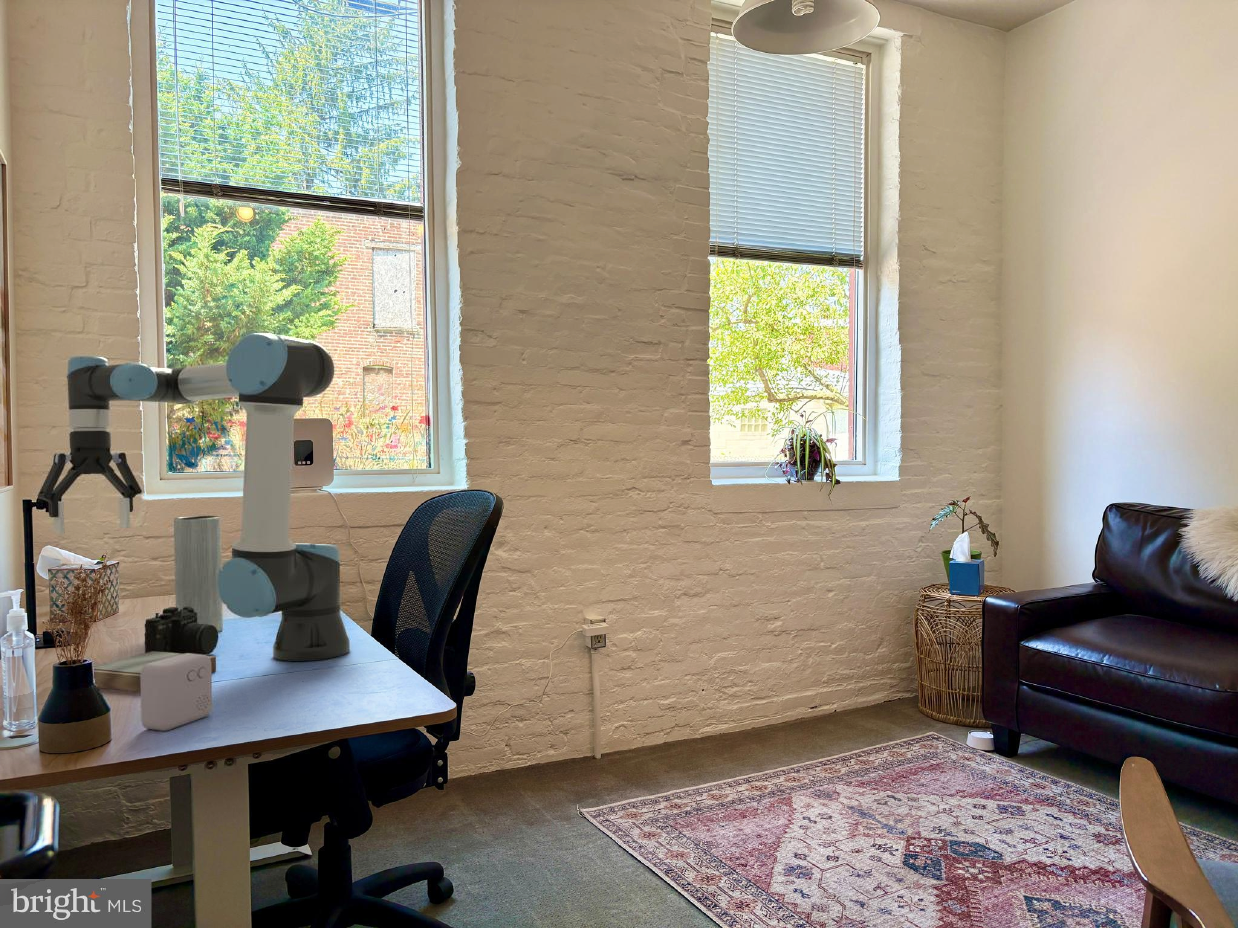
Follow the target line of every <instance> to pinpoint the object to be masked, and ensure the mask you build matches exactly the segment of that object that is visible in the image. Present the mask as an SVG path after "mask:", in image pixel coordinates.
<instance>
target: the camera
mask: <svg viewBox="0 0 1238 928" xmlns="http://www.w3.org/2000/svg"><path fill="white" fill-rule="evenodd" d="M143 634H144V653H148V652H151V651H156V652H168V653H180V654H186V653H191V654H201V655H210V654H212V653H213V652H214V651H215V649H216V648H217V645H218V641H219V632H218V631H217V629H216V627H215V626H213V625H209V624H198V623H197V612H194V608H191V606H185V607H183V609H180V611H178V607H176V606H169V607H167V608H163V610H162V614H160V613H159V612H156V613H155V617H151V618H147V619H145V623H144V633H143Z"/></svg>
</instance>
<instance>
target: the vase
mask: <svg viewBox="0 0 1238 928" xmlns="http://www.w3.org/2000/svg"><path fill="white" fill-rule="evenodd" d="M173 541H174V543H173V547H174V549H173V550H174V587H175V588H174V589H175V590H174V591H175V594H174V595H175V596H174V598H175V607H178V611H180V609H183V607H185V606H191V608H194V612H197V623H198V624H209V625H213V626H215V627H216V629H217V631H218V633H220V632H221V631H222V630H223V629H224V615H223V614H224V612H223V605H224V603H223V602H222V600H221V598H220V596H219V593H218V589H217V576H218V572H219V570H220V568H221V567H223V563H222V562H223V561H222V559H223V558H222V557H223V555H222V518H221V516H219V515H192V516H191V515H190V516H189V515H188V516H178V517H175V518H174V519H173Z"/></svg>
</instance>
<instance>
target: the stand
mask: <svg viewBox="0 0 1238 928" xmlns="http://www.w3.org/2000/svg"><path fill="white" fill-rule="evenodd" d="M178 655H182V654H180V653H168V652H156V651H151V652H148V653H145V652H144V653H141V654H137V655H132V656H128V657H126V658H121V659H117V660H114V661H110V662H109V661H108V662H107V663H102V664H98V665H95V666H93V667H94V679H95V684H96V685H97V687H96V688H102V689H109V690H110V689H111V690H121V691H127V692H129V691H130V692H139V693H141V679H140V674H141V670H142V668H143V667H144V666H145V665H146V664H148V663H152V662H155V661H159V660H163V659H167V658H170V657H174V656H178ZM207 656H208V657H209V658H210V660H211V674H212V673H214V672H215V673H216V672H217V656H213V655H212V656H211V655H207Z"/></svg>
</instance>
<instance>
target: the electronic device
mask: <svg viewBox="0 0 1238 928" xmlns="http://www.w3.org/2000/svg"><path fill="white" fill-rule="evenodd" d="M208 656H209V655H207V654H205V655H201V654H191V653H186V654H182V655H178V656H174V657H170V658H167V659H163V660H159V661H155V662H152V663H148V664H146V665H145V666H144V667H143V668H142V670H141V674H140V679H141V692H140V711H141V712H140V717H141V719H140V720H141V725H142V727H143V728H144V729H147V730H148V729H149V730H155V731H163V732H166V731H169V730H173V729H175V728H178V727H181V726H183V725H186V724H189V723H192V722H195V721H198V720H200V719H203V718H206V717H208V716H209V715H210V714H211V713H212V709H213V687H212V685H213V684H212V683H213V682H212V673H211V660H210V658H209V657H208Z"/></svg>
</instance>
